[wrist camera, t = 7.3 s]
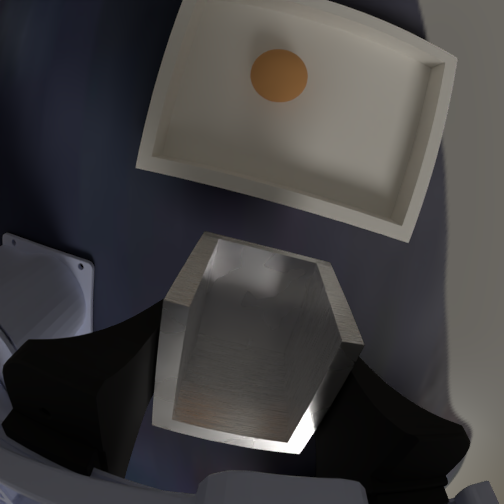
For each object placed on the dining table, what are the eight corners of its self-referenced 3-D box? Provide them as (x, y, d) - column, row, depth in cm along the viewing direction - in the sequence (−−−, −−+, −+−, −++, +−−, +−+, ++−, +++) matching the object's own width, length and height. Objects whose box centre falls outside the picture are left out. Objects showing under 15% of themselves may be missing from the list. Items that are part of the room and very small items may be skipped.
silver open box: (185, 334, 16) (152, 425, 10) (204, 231, 14) (163, 300, 8) (292, 359, 16) (299, 454, 10) (330, 262, 14) (364, 345, 8)
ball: (279, 30, 14) (264, 62, 17) (246, 56, 13) (234, 90, 16) (326, 62, 14) (305, 92, 17) (297, 92, 13) (278, 121, 16)
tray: (150, 164, 19) (135, 167, 17) (201, -9, 15) (193, -26, 13) (393, 231, 20) (408, 243, 17) (438, 64, 16) (457, 58, 13)
